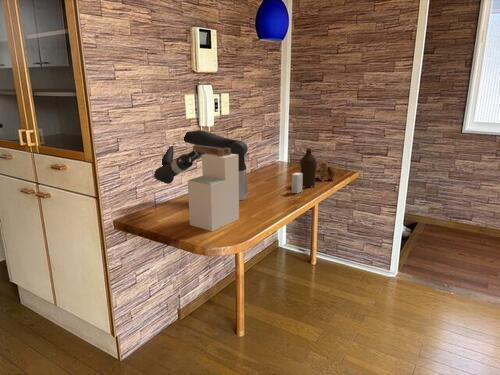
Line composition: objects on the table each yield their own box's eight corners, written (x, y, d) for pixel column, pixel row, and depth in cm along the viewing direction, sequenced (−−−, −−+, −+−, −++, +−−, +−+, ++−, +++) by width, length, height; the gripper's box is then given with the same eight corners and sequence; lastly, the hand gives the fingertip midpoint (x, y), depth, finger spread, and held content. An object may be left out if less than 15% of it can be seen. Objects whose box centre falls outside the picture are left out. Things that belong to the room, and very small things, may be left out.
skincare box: (296, 191, 230) (297, 172, 227) (302, 192, 227) (303, 173, 224) (291, 193, 225) (291, 174, 222) (297, 194, 223) (297, 175, 220)
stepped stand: (217, 213, 190) (215, 151, 182) (239, 218, 182) (238, 154, 174) (189, 224, 174) (186, 158, 166) (212, 231, 167) (209, 161, 158)
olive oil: (317, 184, 244) (318, 147, 238) (313, 188, 235) (315, 149, 228) (301, 183, 248) (302, 146, 242) (297, 187, 239) (298, 148, 232)
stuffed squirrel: (313, 178, 261) (314, 160, 258) (332, 177, 264) (333, 159, 260) (318, 181, 252) (319, 162, 248) (337, 181, 254) (339, 162, 251)
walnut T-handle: (199, 150, 185) (199, 144, 184) (230, 154, 174) (230, 148, 173) (190, 152, 180) (190, 146, 180) (222, 156, 169) (222, 150, 168)
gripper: (168, 159, 185) (187, 145, 175) (188, 155, 196) (207, 142, 186) (174, 173, 185) (194, 160, 175) (194, 168, 196) (214, 155, 186)
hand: (201, 150), depth 180 cm, fingers open, 8 cm apart
